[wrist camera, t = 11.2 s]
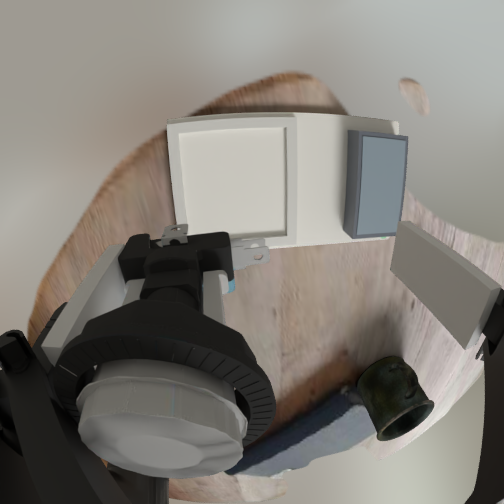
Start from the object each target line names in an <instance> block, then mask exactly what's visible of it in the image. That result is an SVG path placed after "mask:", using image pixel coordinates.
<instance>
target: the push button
mask: <svg viewBox="0 0 504 504" xmlns="http://www.w3.org/2000/svg"><path fill="white" fill-rule="evenodd" d="M188 226H189V225H188V224H178V225H170V226H167V227H165V229H164V232H163V234H162V237H161V239H156V240H150V235H149V234H138V235H134V236H132V237H130V238H129V240H128V242H127V243H126V245H125V247H124V249H123V250H122V252H121V253H120V255H119V256H118V261H119V264H120V268H121V271H122V275H123V278H124V281H125V287H124V291H125V294H126V296H125V298H124V301H123V304H122V306H121V307H119V308H116V309H114V310H111V311H109V312H107V313H104V314H102V315H100V316H97V317H95V318H93V319H90V320H88V321H87V322H86V324H85V326H84V328H83V330H82V333H81V334H80V335H78V336H76V337H75V338H74V339H72V340H71V341H70V342H69V343H68V344H67V345H66V346H65V347H64V349H63V350H62V352H61V354H60V356H59V358H58V360H57V362H56V365H55V368H54V371H53V385H54V389H55V392H56V395H57V397H58V399H59V401H60V403H61V404H62V406H63V407H64V409H65V410H66V411H67V412H68V414H69V415H70V416H71V417H72V418H73V419H74V420H75V421H76V422H77V423H79V428H78V432H79V434H80V436H81V440H82V442H83V443H84V444H85V445H86V446H87V447H88V449H90V450H91V451H93V452H94V453H95V454H96V455H97V456H99V457H101V458H103V459H105V460H106V461H108V462H110V463H112V464H113V465H116V466H118V467H121V468H123V469H126V470H130V471H133V472H137V473H140V474H144V475H148V476H155V477H164V478H177V479H184V478H195V477H204V476H210V475H214V474H217V473H219V472H222V471H225V470H227V469H230V468H232V467H233V466H235V465H236V464H237V462H238V461H239V460H240V459H241V458H242V457H243V455H242V451H243V447H244V446H246V445H248V444H250V443H251V442H253V441H254V440H256V439H257V438H259V437H260V436H261V435H262V434H263V433H264V432H265V431H266V430H267V429H268V428H269V426H270V425H271V423H272V421H273V419H274V416H275V413H276V400H275V396H274V393H273V389H272V386H271V382H270V381H269V379H268V377H267V375H266V374H265V372H264V371H263V370H262V368H261V367H260V366H259V365H258V364H257V361H256V358H255V356H254V354H253V352H252V351H251V349H250V347H249V346H248V344H247V342H246V341H245V339H244V337H243V336H242V334H240V333H239V332H237V331H235V330H233V329H231V328H229V327H227V326H226V322H225V314H224V305H223V296H222V295H224V294H227V293H230V292H233V291H234V290H235V280H234V271H233V270H238V269H246V265H254V264H262V263H268V262H269V261H270V258H269V247H267V246H265V239H263V238H261V239H252V240H243V241H242V238H234V239H230V237H229V233H227V232H224V231H222V232H212V233H204V234H196V235H188V236H187V232H188ZM176 228H181V229H180V230H176V231H171V230H172V229H176ZM252 244H258V245H259V247H255V248H251V245H252ZM261 254H262V258H261V259H255V258H254V255H261ZM96 365H97V367H96V370H95V368H94V366H96ZM234 387H235V388H236V389H235V391H234Z"/></svg>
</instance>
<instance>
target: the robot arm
mask: <svg viewBox="0 0 504 504" xmlns="http://www.w3.org/2000/svg"><path fill="white" fill-rule="evenodd" d="M124 247H125V246H124V244H118V245H109V246H108V247H107V249H106V250H105V251H104V253H103V254H102V255H101V257H100V258H99V259H98V261H97V262H96V263H95V265H94V266H93V267H92V269H91V270H90V271H89V273H88V274H87V276H86V277H85V278H84V280H83V281H82V283H81V284H80V285H79V287H78V288H77V290H76V291H75V293H74V294H73V296H72V297H71V299H70V300H69V302H65V303H64V304H62V305H61V306H60V307H59V308H58V309H57V310H56V311H55V312H54V314H53V315H52V317H51V318H50V321H48V323H47V324H46V326H45V328H44V329H43V331H42V332H41V334H40V335H39V337H38V339H37V340H36V342H35V344H34V345H33V347H32V348H31V346H30V345H29V343H28V341H27V339H26V338H25V336H24V334H23V332H22V331H20V330H11V331H8V332H6V333H4V334H3V335H1V336H0V367H1V368H2V370H0V504H169V478H164V477H155V476H148V475H144V474H140V473H137V472H133V471H130V470H126V469H123V468H121V467H118V466H116V465H113V464H112V463H110V462H108V464H107V468H106V466H105V465H104V463H103V462H102V460H101V458H100V457H99V456H97V455H96V454H95V453H94V452H93V451H91V450H90V449H88V447H87V446H86V445H85V444H84V443H83V442H82V440H81V436H80V434H79V432H78V428H79V423H77V422H76V421H75V420H74V419H73V418H72V417H71V416H70V415H69V414H68V412H67V411H66V410H65V409H64V407H63V406H62V404H61V403H60V401H59V399H58V397H57V395H56V392H55V389H54V385H53V371H54V368H55V365H56V362H57V360H58V358H59V356H60V354H61V352H62V350H63V349H64V347H65V346H66V345H67V344H68V343H69V342H70V341H71V340H72V339H74V338H75V337H76V336H78V335H80V334H81V333H82V330H83V328H84V326H85V324H86V322H87V321H88V320H90V319H93V318H95V317H97V316H100V315H102V314H104V313H107V312H109V311H111V310H114V309H116V308H119V307H121V306H122V304H123V301H124V298H125V296H126V294H125V291H124V287H125V281H124V278H123V275H122V271H121V268H120V264H119V261H118V256H119V255H120V253H121V252H122V250H123V249H124ZM390 270H391V271H392V272H393V273H394V274H395V275H396V276H397V277H398V278H399V279H400V280H401V281H402V282H403V283H404V284H405V285H406V286H407V287H408V288H409V289H410V290H411V291H412V292H413V293H414V294H415V295H416V297H417V298H418V299H419V300H420V301H421V302H422V303H423V304H424V305H425V306H426V307H427V308H428V309H429V310H430V311H431V312H432V313H433V315H434V316H435V317H436V318H437V319H438V320H439V321H440V322H441V323H442V324H443V326H444V327H445V328H446V329H447V330H448V331H449V332H450V333H451V335H452V336H453V337H454V338H455V339H456V340H457V341H458V343H459V344H460V345H461V346H462V347H463V348H464V350H466V349H468V348H470V347H472V346H474V345H476V344H477V342H478V340H479V338H480V336H481V334H482V333H483V334H484V335H485V336H486V338H485V340H484V342H483V344H482V345H481V347H480V349H479V351H478V353H477V355H476V358H475V359H478V358H479V356H480V354H483V356H482V358H481V359H480V360H482V361H484V371H485V412H484V413H485V414H484V428H483V439H482V448H481V456H480V462H479V468H478V474H477V479H476V484H475V488H474V491H473V493H472V494H471V496H470V497H469V498H468V500H467V501H466V502H465V504H504V290H503V289H502V288H501V287H502V286H501V285H499V284H498V283H497V282H496V281H494V280H493V279H492V278H491V277H489V276H488V275H487V274H485V273H484V272H483V271H482V270H480V269H479V268H478V267H476V266H475V265H474V264H472V263H471V262H470V261H468V260H467V259H466V258H464V257H463V256H461V255H460V254H459V253H457V252H456V251H454V250H453V249H451V248H450V247H449V246H447V245H446V244H444V243H443V242H441V241H440V240H438V239H437V238H435V237H434V236H432V235H431V234H429V233H428V232H426V231H425V230H423V229H422V228H420V227H418V226H417V225H415V224H414V223H412V222H410V221H398V225H397V232H396V238H395V245H394V251H393V256H392V262H391V267H390ZM96 367H97V365H96V366H94V368H95V370H96Z"/></svg>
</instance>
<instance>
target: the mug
mask: <svg viewBox="0 0 504 504" xmlns="http://www.w3.org/2000/svg"><path fill="white" fill-rule="evenodd" d="M357 390H358V392H359V394H360V396H361V398H362V400H363V403H364V405H365V407H366V409H367V411H368V413H369V416H370V418H371V420H372V422H373V424H374V426H375V429H376V431H377V439H378V440H379V441H388V440H392V439H395V438H397V437H400V436H402V435H404V434H406V433H407V432H409V431H411V430H412V429H414V428H415V427H417V426H418V425H419V424H420V423H422V422H423V421H424V420H425V419H426V418H427V417H428V416H429V414H430V413H431V412H432V410H433V408H434V402H433V401H432V400H429V399H428V397H427V396H426V394H425V392H424V391H423V389H422V388H421V386H420V385H419V383H418V377H417V375H416V373H415V371H414V370H413V369H412V368H411V367H410V366H409V365H408V364H407V363H405V362H404V360H403V359H402V358H399V357H387V358H384V359H382V360H380V361H378V362H376V363H375V364H373V365H372V366H370V367H369V368H368V369H367V370H366V371H365V372H364V373H363V374H362V375H361V377H360V379H359V381H358V385H357Z"/></svg>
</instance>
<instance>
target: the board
mask: <svg viewBox="0 0 504 504" xmlns="http://www.w3.org/2000/svg"><path fill="white" fill-rule="evenodd" d="M167 124H168V125H167V137H168V149H169V160H170V171H171V180H172V189H173V198H174V206H175V214H176V222H177V225H178V224H188V225H189V226H188V232H187V236H188V235H196V234H204V233H212V232H222V231H224V232H227V233H229V237H230V239H234V238H242V241H243V240H252V239H261V238H263V239H265V246H267V247H269V249H273V248H285V247H298V246H310V245H322V244H334V243H346V242H359V241H371V240H383V239H389V236H388V237H374V238H361V239H352V238H351V237H350V236H348V235H347V234H346V233H345V232H344V231H343V225H344V212H345V197H346V178H347V145H348V130H358V131H369V132H379V133H387V134H395V135H399V122H396V121H389V120H382V119H375V118H367V117H357V116H347V115H335V114H320V113H294V112H258V113H232V114H216V115H204V116H193V117H184V118H176V119H168V120H167ZM177 229H178V230H180V229H181V228H177ZM255 247H259V245H258V244H252V245H251V248H255Z"/></svg>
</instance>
